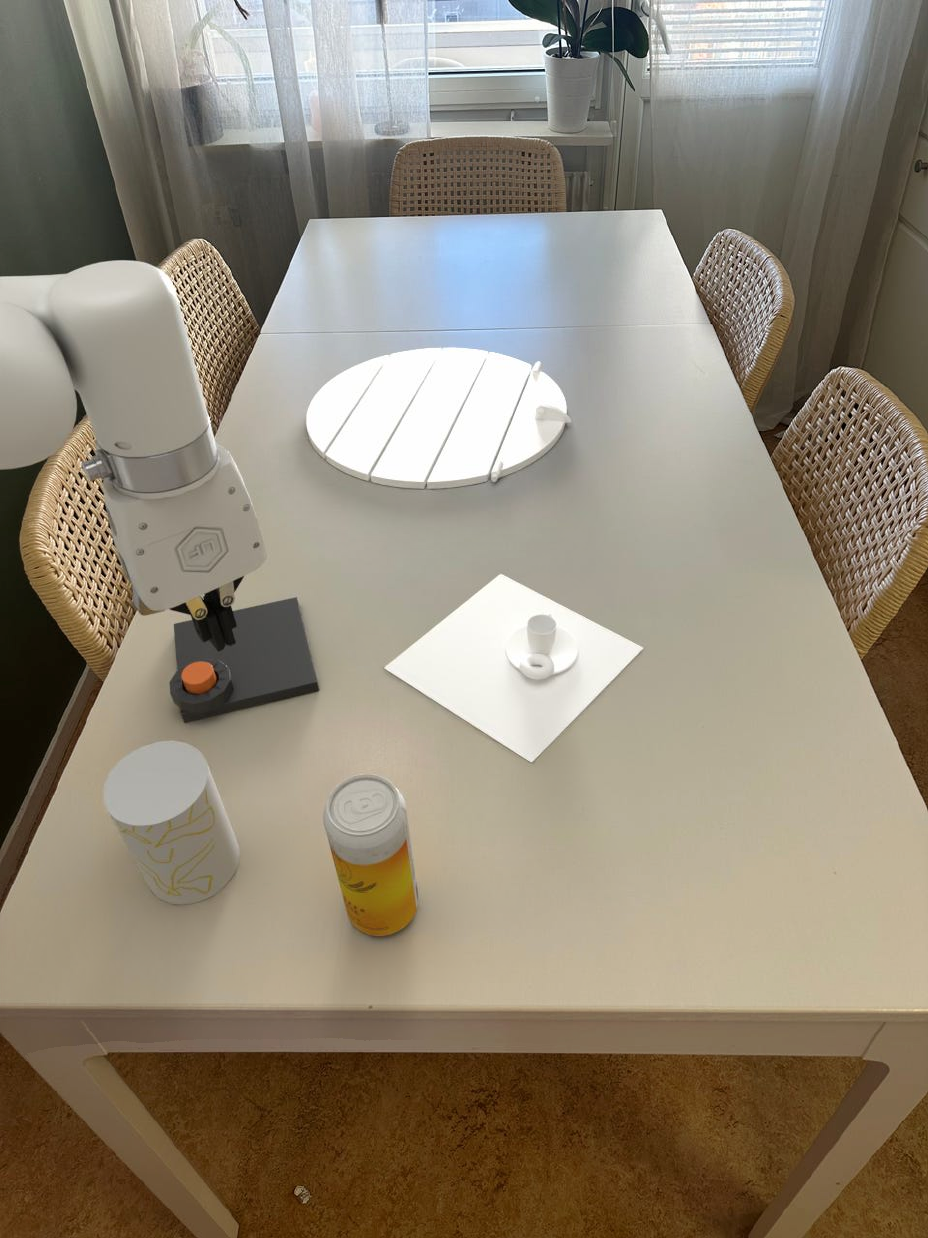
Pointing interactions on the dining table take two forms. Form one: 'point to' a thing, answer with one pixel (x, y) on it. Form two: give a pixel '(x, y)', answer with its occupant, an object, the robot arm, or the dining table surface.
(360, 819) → the beer can
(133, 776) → the cup
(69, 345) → the robot arm
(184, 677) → the power button
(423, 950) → the dining table surface
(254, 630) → the scale
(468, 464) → the lazy susan
